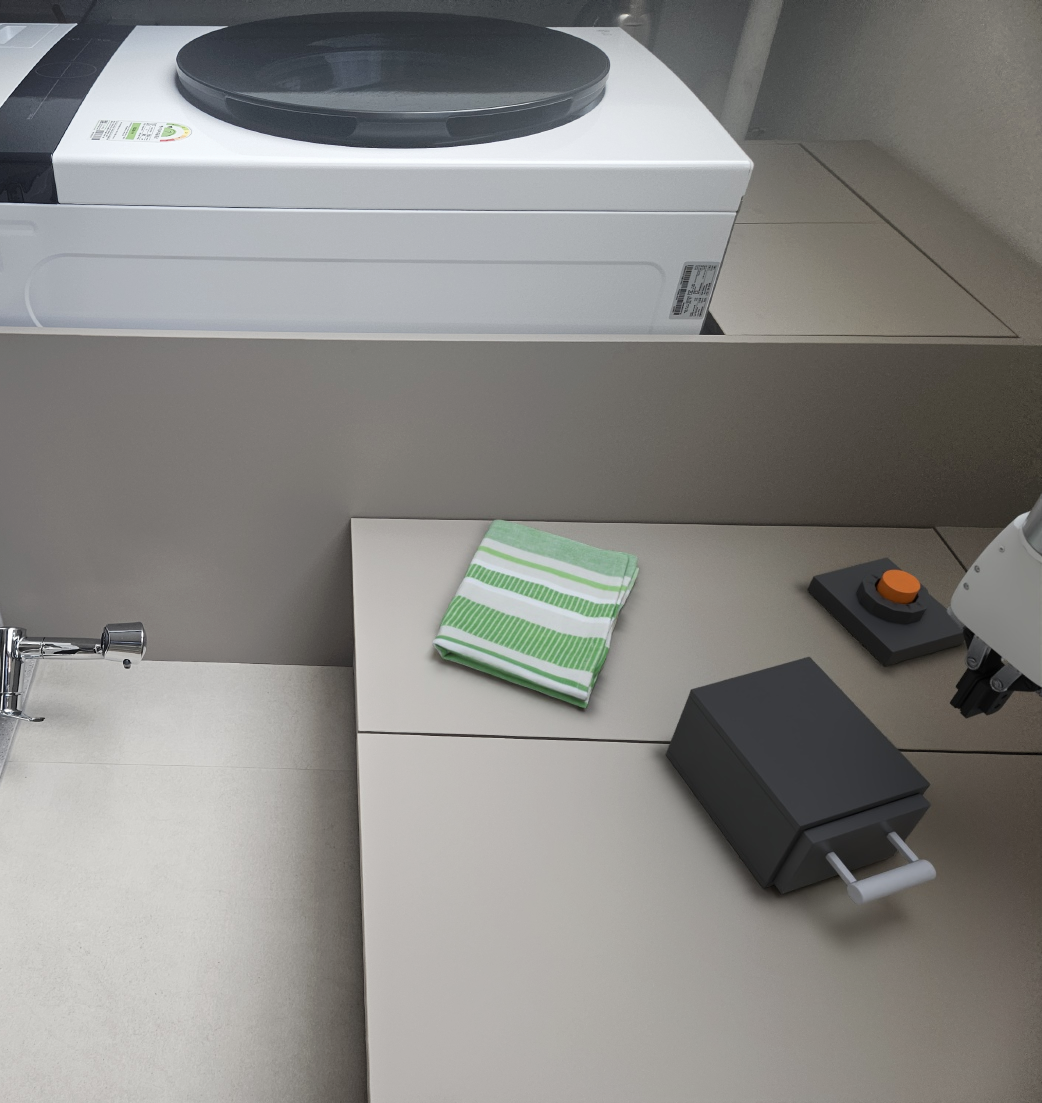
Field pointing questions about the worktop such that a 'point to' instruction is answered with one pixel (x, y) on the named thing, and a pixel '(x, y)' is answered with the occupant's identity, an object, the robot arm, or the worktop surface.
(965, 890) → the worktop surface
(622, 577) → the dish towel
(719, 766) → the dark grey drawer box
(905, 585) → the button
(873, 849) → the dark grey drawer
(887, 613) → the control block
